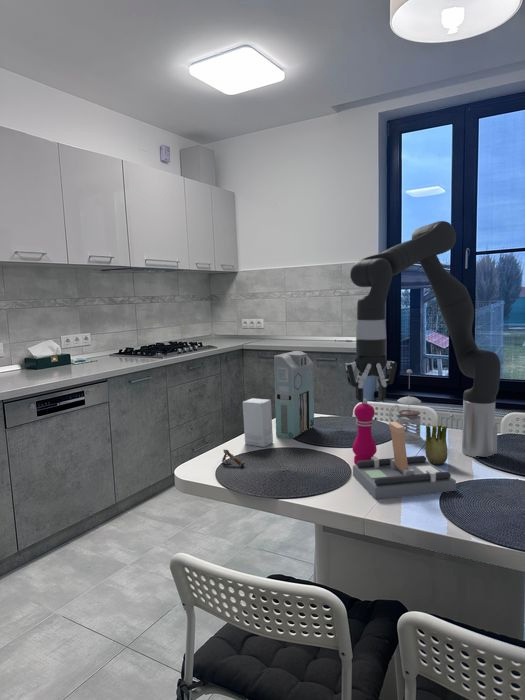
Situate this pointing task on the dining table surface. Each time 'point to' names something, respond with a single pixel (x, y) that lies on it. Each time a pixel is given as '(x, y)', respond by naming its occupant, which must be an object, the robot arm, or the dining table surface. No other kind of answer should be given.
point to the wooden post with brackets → (231, 458)
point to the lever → (399, 446)
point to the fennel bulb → (436, 445)
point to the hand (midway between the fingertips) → (370, 400)
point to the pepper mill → (364, 433)
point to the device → (293, 393)
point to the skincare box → (257, 422)
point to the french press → (413, 418)
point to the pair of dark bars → (405, 478)
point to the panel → (369, 475)
